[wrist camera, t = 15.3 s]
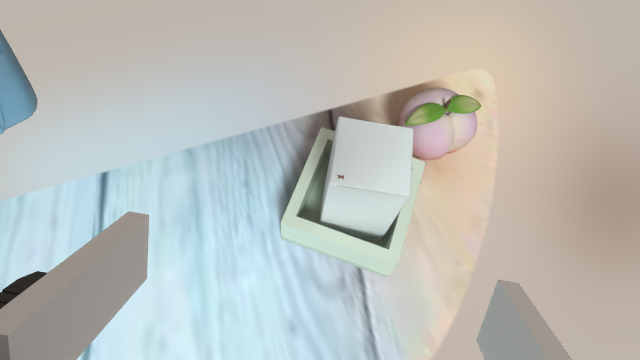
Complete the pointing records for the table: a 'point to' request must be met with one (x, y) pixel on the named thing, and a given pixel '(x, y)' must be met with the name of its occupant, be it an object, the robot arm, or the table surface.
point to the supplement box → (366, 177)
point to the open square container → (307, 232)
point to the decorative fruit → (439, 122)
